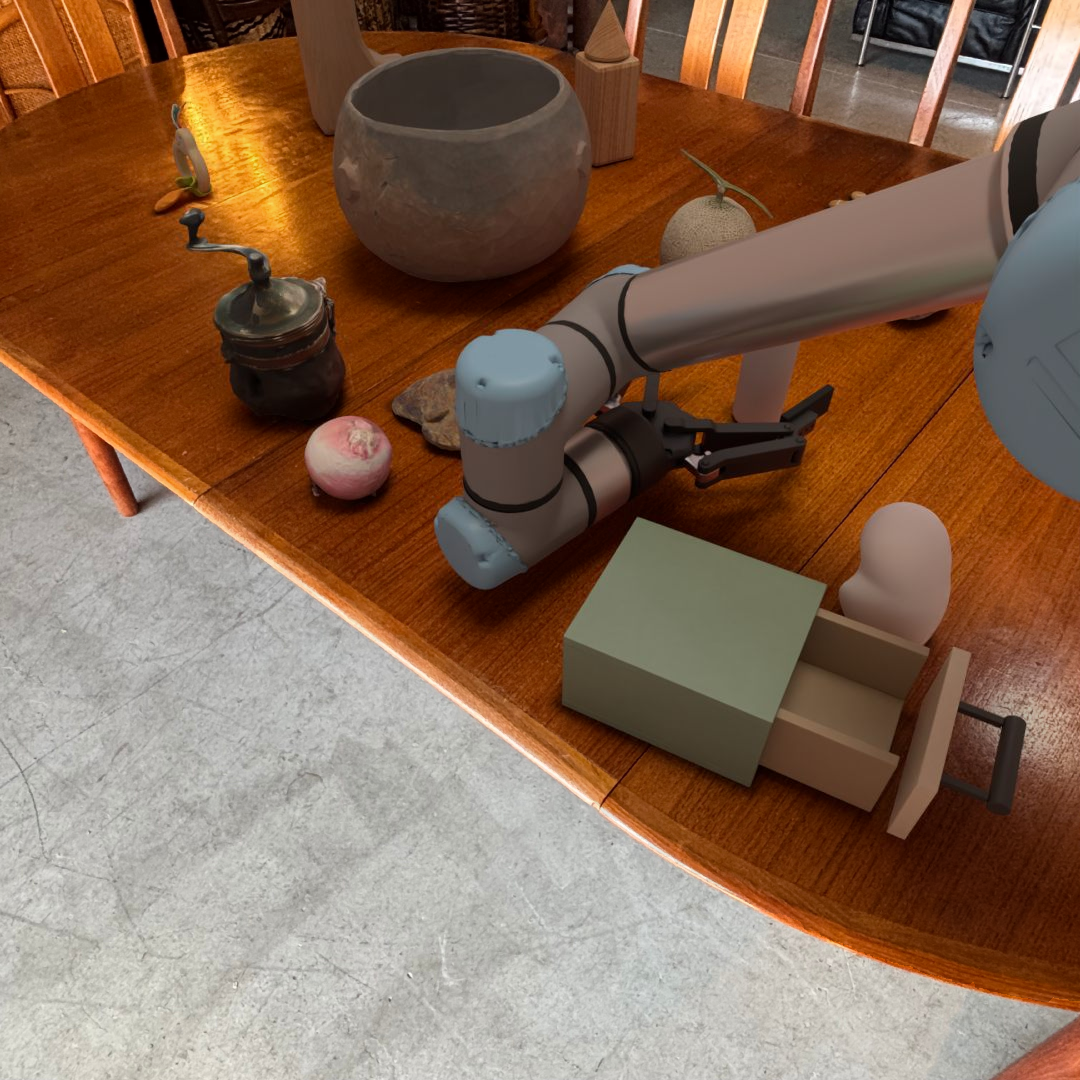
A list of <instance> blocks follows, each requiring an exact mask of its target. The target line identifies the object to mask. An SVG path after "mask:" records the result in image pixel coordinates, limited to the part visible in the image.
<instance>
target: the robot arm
mask: <svg viewBox="0 0 1080 1080" xmlns="http://www.w3.org/2000/svg"><path fill="white" fill-rule="evenodd" d="M848 201H849V202H846V203H843V204H840V205H837V206H834V207H831V208H830V207H828V208H826V209H823V210H820V211H817V212H814V213H810V214H808V215H805V216H802V217H799V218H797V219H794V220H793V219H792V220H791V221H788V222H785V223H781V224H779V225H776V226H773V227H770V228H767V229H764V230H761V231H759V232H757V233H755V234H752V235H749V236H746V237H743V238H741V239H738V240H735V241H732V242H729V243H726V244H723V245H720V246H717V247H714V248H711V249H708V250H705V251H703V252H700V253H697V254H694V255H691V256H688V257H685V258H682V259H679V260H676V261H673V262H670V263H668V264H665V265H662V266H661V265H659V266H656V267H653V268H650V267H647V266H641V265H638V264H637V265H636V264H634V263H631V264H623V265H619V266H617V267H615V268H613V269H610V271H608V272H607V273H605V274H604V275H602V276H599V277H598V278H596V279H594V280H592V281H591V282H590V283H588V284H587V285H586V287H585V288H584V289H583V290H582V291H581V292H580V293H579V294H578V295H577V296H576V297H575V298H574V299H572V300H571V301H570V302H569V303H567V304H566V305H565V306H564V307H563V308H562V309H561V310H559V311H558V312H557V313H556V314H555V315H554V316H553V317H551V318H550V319H549V320H548V321H547V322H545V324H543V325H542V326H541V327H538V329H536V330H535V331H532V330H528V329H522V328H502V329H498V330H496V331H495V332H494V334H493V335H480V336H477V337H475V338H474V339H473V340H471V341H470V342H469V343H467V344H466V345H465V347H464V348H463V349H462V351H461V352H460V353H459V355H458V358H457V361H456V364H455V368H456V369H455V379H456V394H455V405H454V410H455V417H456V421H457V423H458V430H459V439H460V448H461V450H460V455H461V465H462V467H461V468H462V475H463V476H462V479H461V480H462V489H463V490H462V491H463V492H462V494H460V495H459V496H453V497H452V498H451V500H450V501H448V502H447V503H446V504H445V505H444V506H442V507H440V508H439V510H438V512H437V514H436V516H435V518H434V521H433V528H434V534H435V537H436V541H437V543H438V546H439V548H440V550H441V552H442V554H443V556H444V557H445V559H446V561H447V562H448V564H449V565H450V566H451V568H452V569H453V570H454V571H455V573H456V574H457V575H458V576H459V577H460V578H462V580H464V581H465V582H466V583H467V584H469V585H470V586H472V587H474V588H476V589H479V590H491V589H494V588H496V587H499V586H501V584H504V582H507V581H508V580H510V579H512V578H514V577H515V576H517V575H519V574H524V573H526V572H527V571H529V569H530V568H532V567H534V566H535V565H536V564H538V563H539V562H540V561H542V560H543V559H545V558H546V557H548V556H550V555H551V554H552V553H554V552H555V551H558V550H559V549H560V548H561V547H563V546H564V545H565V544H567V543H569V542H570V541H571V540H573V539H574V538H576V537H577V536H579V535H580V534H582V533H584V532H585V531H586V530H587V529H590V528H591V527H592V526H593V525H595V524H597V523H599V522H600V521H602V520H603V519H605V518H606V517H608V516H609V515H611V514H612V513H613V512H615V511H617V510H618V509H619V508H621V507H623V506H624V505H626V504H627V503H628V502H630V501H633V500H634V499H636V498H637V497H639V496H640V495H642V494H643V493H645V492H647V491H648V490H650V489H651V488H653V487H655V486H656V485H658V484H659V483H660V482H661V481H662V480H663V479H664V478H665V477H666V476H667V475H668V474H669V473H670V472H671V471H674V470H679V469H680V470H681V469H685V470H686V471H687V472H689V473H690V474H691V475H692V476H693V477H694V486H695V488H697V489H699V490H706V489H708V488H710V487H712V486H714V485H715V484H718V483H720V482H721V481H727V480H731V479H737V478H738V479H739V478H743V477H749V476H753V475H759V474H763V473H770V472H775V471H780V470H786V469H791V468H797V467H799V466H801V464H802V462H803V458H804V454H805V451H806V448H807V443H808V440H807V439H806V438H805V437H806V436H807V435H809V434H810V433H812V432H813V431H814V429H815V427H816V423H817V421H818V419H819V418H820V417H822V416H823V415H825V414H827V413H828V412H829V410H830V409H829V408H830V405H831V403H832V402H831V401H832V398H833V395H834V392H835V387H834V386H832V385H831V384H829V383H827V384H826V385H824V386H822V387H820V388H819V389H818V390H816V391H815V392H812V394H810V395H808V396H807V397H805V398H804V399H802V400H801V401H799V402H798V403H797V404H794V405H793V406H792V407H790V408H789V409H787V410H786V411H784V412H782V414H781V417H780V421H779V422H768V423H738V422H714V420H713V419H711V418H696V417H695V416H694V415H693V414H691V413H689V412H687V411H685V410H682V409H680V407H679V406H678V405H676V403H674V402H673V401H671V400H670V399H669V400H667V401H665V400H660V399H658V397H659V388H660V380H661V374H662V373H666V372H671V371H673V370H676V369H681V368H685V367H690V366H694V365H695V366H696V365H699V364H702V363H708V362H712V361H718V360H723V359H726V358H732V357H735V356H739V355H743V354H745V353H749V352H754V351H758V350H763V349H767V348H772V347H776V346H781V345H785V344H790V343H794V342H799V341H800V342H802V341H808V340H812V339H816V338H822V337H825V336H830V335H834V334H839V333H843V332H848V331H853V330H856V329H857V330H858V329H861V328H866V327H871V326H876V325H880V324H884V323H888V322H893V321H898V320H904V319H903V318H907V317H912V316H916V315H921V314H925V313H930V312H934V311H937V312H939V311H942V310H947V309H952V308H956V307H961V306H966V305H969V304H974V303H975V304H976V303H979V302H983V301H984V302H983V304H982V307H981V309H980V313H979V316H978V320H977V324H976V329H975V335H974V344H973V352H972V353H973V354H972V355H973V357H972V362H973V375H974V382H975V386H976V391H977V395H978V398H979V401H980V404H981V408H982V409H983V412H984V414H985V417H986V418H987V421H988V423H989V424H990V426H991V428H992V430H993V432H994V433H995V435H996V437H997V438H998V440H999V441H1000V442H1001V444H1002V445H1003V447H1004V448H1005V449H1006V450H1007V451H1008V452H1009V454H1010V455H1011V456H1012V457H1013V458H1014V459H1015V460H1016V462H1017V463H1019V465H1020V466H1022V467H1023V468H1024V469H1025V470H1026V471H1028V472H1029V473H1030V474H1031V475H1032V476H1034V477H1035V478H1037V480H1039V481H1041V482H1042V483H1043V484H1044V485H1047V486H1048V487H1050V488H1051V489H1053V490H1054V491H1056V492H1058V493H1060V494H1061V495H1062V496H1065V497H1067V498H1069V499H1072V500H1074V501H1076V502H1078V503H1080V99H1077V100H1075V101H1071V102H1069V103H1067V104H1064V105H1062V106H1059V107H1057V108H1054V109H1049V110H1048V111H1044V112H1041V113H1039V114H1036V115H1034V116H1031V117H1030V116H1029V117H1028V118H1026V119H1023V120H1021V121H1018V122H1016V123H1015V124H1014V125H1013V126H1012V128H1011V129H1010V131H1009V133H1008V134H1007V135H1006V137H1005V139H1004V141H1002V143H1001V145H1000V146H999V148H998V150H995V151H992V152H989V153H986V154H983V155H980V156H977V157H974V158H972V159H969V160H965V161H964V162H959V163H957V164H954V165H951V166H949V167H945V168H942V169H939V170H936V171H934V172H931V173H927V174H925V175H922V176H919V177H916V178H913V179H910V180H907V181H904V182H902V183H898V184H896V185H893V186H889V187H887V188H884V189H880V190H877V191H875V192H873V193H869V194H866V196H863V197H860V198H857V199H854V200H852V199H851V200H848ZM641 378H645V384H644V392H643V399H642V400H641V401H626V402H622V400H623V398H624V396H625V395H626V393H627V391H628V389H629V388H630V385H631V384H632V382H633V380H636V379H641ZM593 416H595V417H594V418H592V417H593ZM591 418H592V419H591ZM590 419H591V420H590ZM698 433H702V436H701V442H700V443H698V444H696V440H697V434H698Z"/></svg>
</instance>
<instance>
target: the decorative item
mask: <svg viewBox="0 0 1080 1080" xmlns="http://www.w3.org/2000/svg"><path fill="white" fill-rule="evenodd" d="M621 25H622V24H621V23H620V20H619V17H618V15H617V13H616V10H615V7H614V6H613V3H612V1H611V0H608V1H607V3H606V4H605V7H604V8H603V10H602V12H601V15H600V16H599V18H598V20H597V22H596V25H595V26H594V29H593V30H592V33H591V34H590V37H589V39H588V41H587V42H586V44H585V46H584V50H583V51H578V52H577V53H576V54H575V65H574V66H575V70H574V72H575V73H574V92H575V93H576V95H577V97H578V99H579V102H580V104H581V106H582V109H583V111H584V113H585V117H586V121H587V124H588V128H589V133H590V140H591V158H592V163H591V166H594V167H601V166H604V165H608V164H611V163H617V162H621V161H624V160H629V159H631V158H633V157H634V154H635V139H636V129H637V128H636V126H637V113H638V100H639V99H638V98H639V84H640V73H641V72H640V71H641V62H640V60H639V59H640V58H638V57H636V56H635V55H633V54H631V47H630V45H629V43H628V40H627V38H626V35H625V33H624V30H623V28H622V26H621Z"/></svg>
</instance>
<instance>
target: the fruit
mask: <svg viewBox="0 0 1080 1080" xmlns="http://www.w3.org/2000/svg"><path fill="white" fill-rule="evenodd" d="M680 152H681V153H682V154H683V155H685V156H686V157H687V158H688V159H690V160H691V162H692V163H694V164H695V165H696V166H697V167H699V168H700V169H701V170H703V171H704V173H706V174H707V175H708V176H709V177H711V179H712V180H713V181H714V182H715V185H716V188H717V192H716V195H714V194H713V195H712V194H711V195H703V196H700V197H696V198H695V199H691V200H690V201H688V202H687V203H685V204H683V205H682V206H681V207H680V208H678V209H677V211H676V212H675V213H674V214H673V215H672V216H671V218H670V219H669V221H668V223H667V224H666V226H665V229H664V231H663V236H662V238H661V240H660V241H661V242H660V247H659V262H660V263H659V264H660V266H662V265H665V264H668V263H670V262H673V261H676V260H679V259H682V258H685V257H688V256H691V255H694V254H697V253H700V252H703V251H705V250H708V249H711V248H714V247H717V246H720V245H723V244H726V243H729V242H732V241H735V240H738V239H741V238H743V237H746V236H749V235H752V234H755V233H758V232H757V229H756V226H755V222H754V221H753V219H752V217H751V215H750V214H749V213H748V211H747V210H746V208H745V207H744V206H742V205H741V204H739V203H738V202H737V201H735V200H734V199H732V198H730V197H728V196H725V194H726V192H727V190H731V191H733V192H736V193H738V194H740V195H742V196H743V197H745V198H747V199H748V200H749V201H751V202H752V203H754V204H755V205H757V206H758V207H760V208H761V209H762V211H763V212H764V213H765V214H766V215H767V217H768V218H769V219H770V220H772V219H773V218H774V217H773V216H772V214H771V213H770V211H769V210H768V209H767V207H765V205H764V204H763V203H761V201H759V200H758V199H757V198H756V197H755V196H753V195H751V194H749V193H748V192H747V191H745V190H744V189H742V188H740V187H738V186H736V185H733V184H731V183H730V182H728V181H727V180H725V179H723V178H722V177H721V176H720V175H718V173H716V172H715V170H713V169H712V168H710V167H709V166H707V165H706V164H705V163H703V162H702V161H700V160H699V159H697V158H696V157H694V156H693V155H691V154H689V152H688V151H686V150H684V149H683V148H681V149H680Z"/></svg>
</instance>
